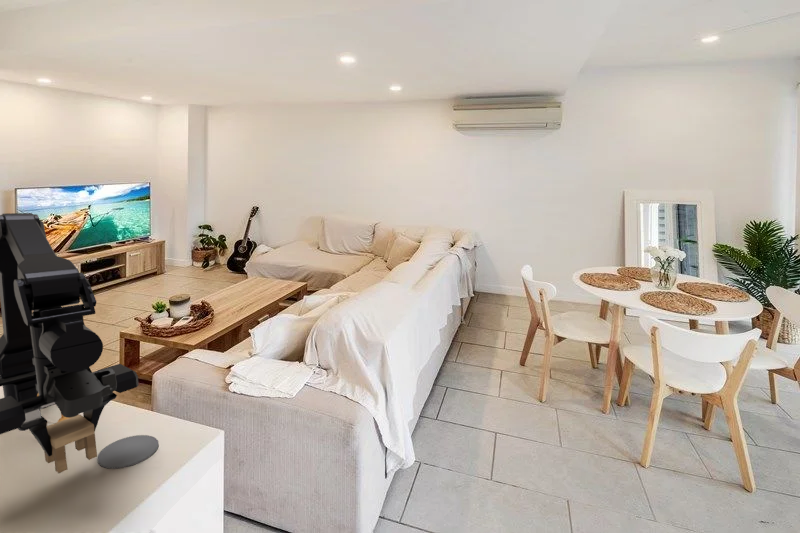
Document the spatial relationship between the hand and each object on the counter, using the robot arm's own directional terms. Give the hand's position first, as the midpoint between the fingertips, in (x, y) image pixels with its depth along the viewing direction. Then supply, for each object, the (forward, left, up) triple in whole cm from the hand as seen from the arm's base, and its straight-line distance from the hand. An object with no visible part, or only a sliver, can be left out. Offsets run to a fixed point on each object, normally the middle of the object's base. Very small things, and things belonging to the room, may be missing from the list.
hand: (70, 446), depth 66 cm
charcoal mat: (-1, +8, -6) cm, 10 cm away
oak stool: (0, 0, -2) cm, 2 cm away
